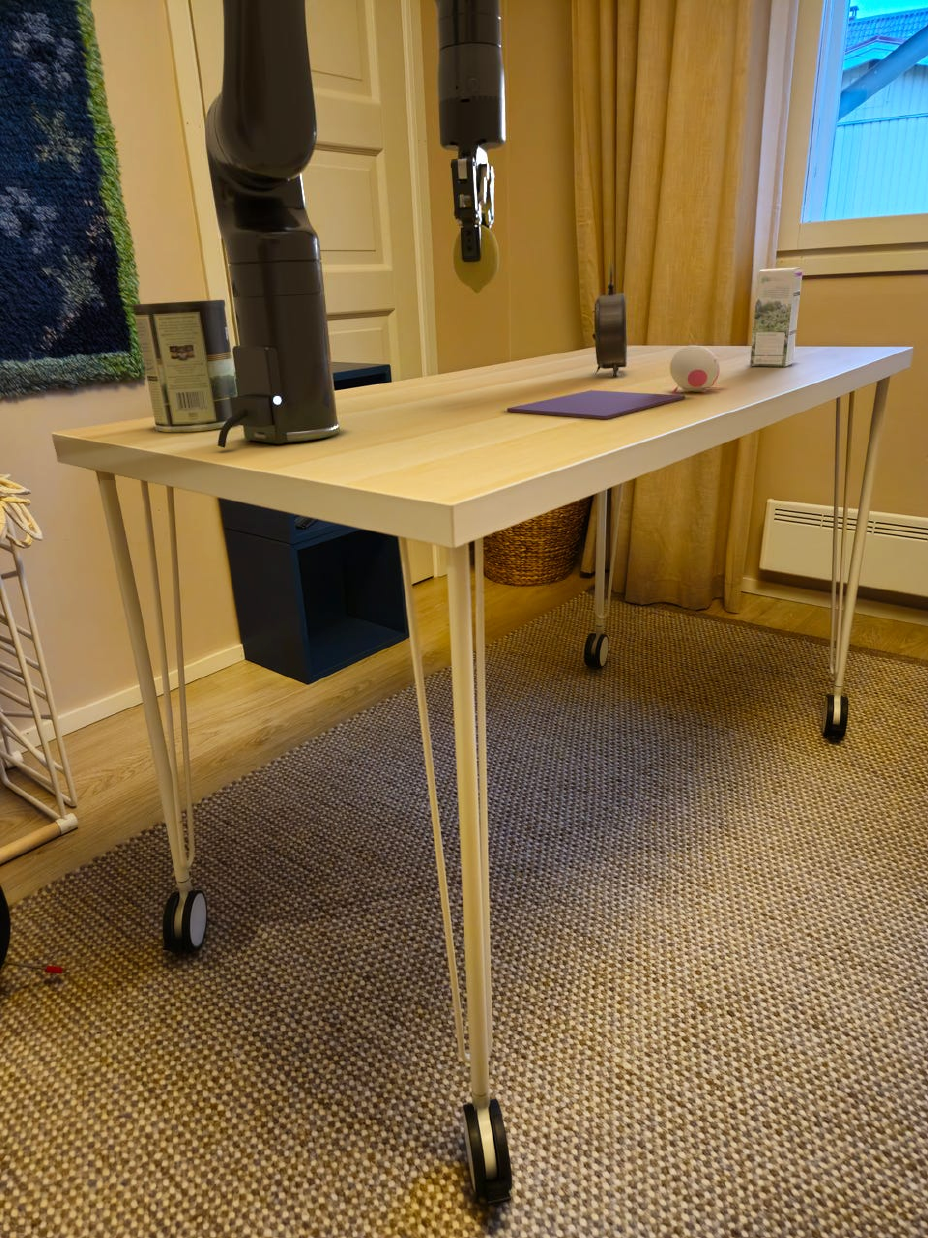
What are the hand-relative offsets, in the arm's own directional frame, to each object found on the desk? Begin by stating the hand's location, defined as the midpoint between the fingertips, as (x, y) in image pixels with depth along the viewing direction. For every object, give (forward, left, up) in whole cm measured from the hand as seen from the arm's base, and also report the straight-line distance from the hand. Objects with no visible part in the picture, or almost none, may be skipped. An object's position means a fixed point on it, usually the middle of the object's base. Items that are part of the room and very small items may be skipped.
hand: (476, 261), depth 99 cm
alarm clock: (+35, +3, -17) cm, 39 cm away
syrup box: (+55, -15, -17) cm, 60 cm away
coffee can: (-28, +21, -17) cm, 39 cm away
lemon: (0, 0, -4) cm, 4 cm away
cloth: (+6, -14, -17) cm, 23 cm away
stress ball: (+22, -19, -17) cm, 34 cm away
